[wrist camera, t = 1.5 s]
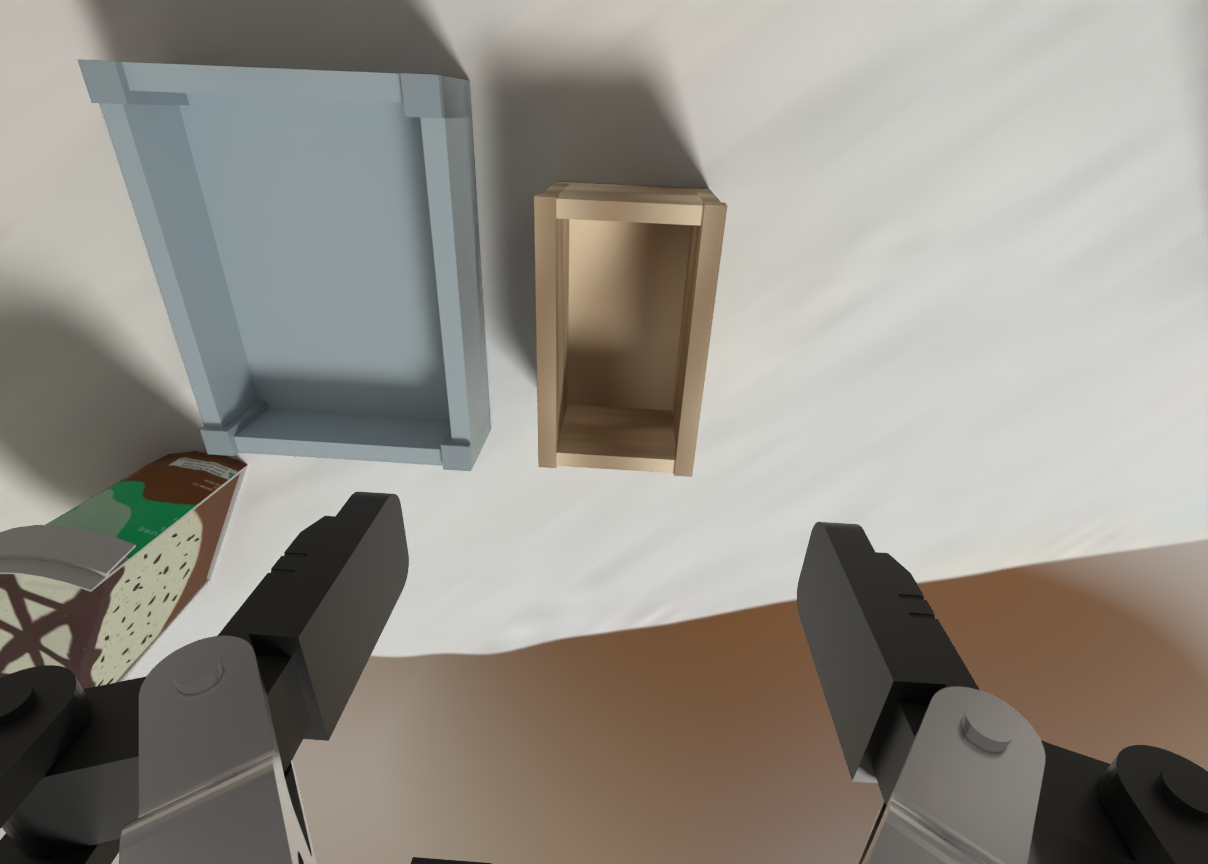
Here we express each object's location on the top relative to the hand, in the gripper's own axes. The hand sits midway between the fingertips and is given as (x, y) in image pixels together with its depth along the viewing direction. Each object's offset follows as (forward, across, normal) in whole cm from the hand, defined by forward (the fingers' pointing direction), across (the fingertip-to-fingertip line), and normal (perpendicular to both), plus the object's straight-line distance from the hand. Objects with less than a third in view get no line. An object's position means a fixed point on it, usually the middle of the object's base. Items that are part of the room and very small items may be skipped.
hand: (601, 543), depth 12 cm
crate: (+16, +12, -1) cm, 20 cm away
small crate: (+16, 0, 0) cm, 16 cm away
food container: (+16, +24, +12) cm, 31 cm away
